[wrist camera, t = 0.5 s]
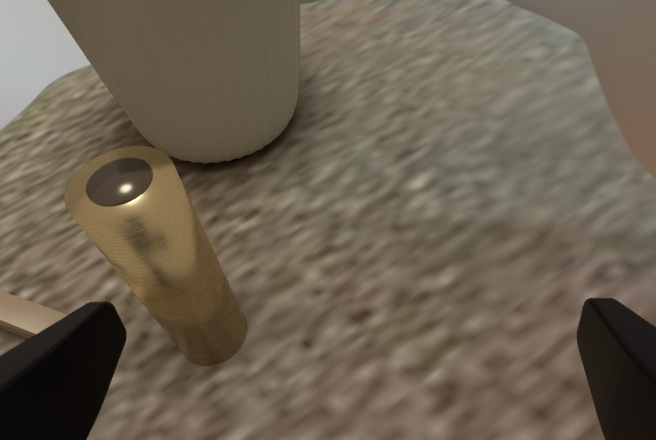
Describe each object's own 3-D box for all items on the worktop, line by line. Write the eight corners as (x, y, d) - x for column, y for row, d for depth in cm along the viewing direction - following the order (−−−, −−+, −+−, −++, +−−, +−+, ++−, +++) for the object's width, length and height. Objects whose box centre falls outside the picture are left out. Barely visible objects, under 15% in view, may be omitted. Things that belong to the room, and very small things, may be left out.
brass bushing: (227, 374, 25) (131, 234, 15) (166, 353, 26) (38, 207, 16) (257, 313, 27) (193, 154, 17) (201, 295, 28) (109, 136, 18)
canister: (304, 51, 46) (270, -243, 29) (349, 169, 34) (336, -201, 18) (126, 84, 44) (-15, -209, 28) (113, 220, 33) (-140, -138, 16)
